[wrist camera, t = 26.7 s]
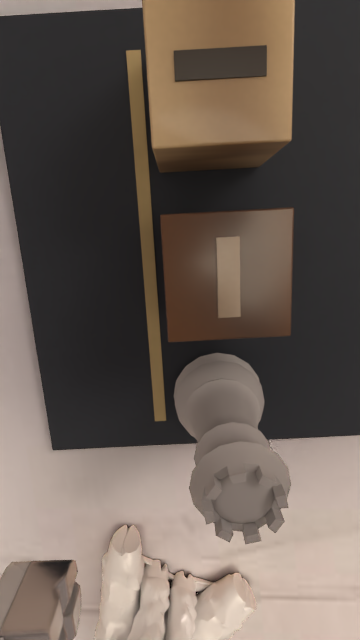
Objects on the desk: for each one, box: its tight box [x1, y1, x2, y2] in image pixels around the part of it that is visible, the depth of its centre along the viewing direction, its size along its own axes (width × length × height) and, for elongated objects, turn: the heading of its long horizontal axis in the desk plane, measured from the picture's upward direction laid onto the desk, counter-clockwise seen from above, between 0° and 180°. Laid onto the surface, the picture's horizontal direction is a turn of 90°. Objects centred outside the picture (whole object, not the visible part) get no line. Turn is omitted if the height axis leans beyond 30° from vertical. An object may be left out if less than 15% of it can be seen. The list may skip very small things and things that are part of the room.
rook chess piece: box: [174, 353, 291, 544], centre depth 14 cm, size 4×4×8 cm
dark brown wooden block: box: [160, 207, 294, 342], centre depth 14 cm, size 4×4×5 cm
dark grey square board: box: [0, 0, 360, 450], centre depth 16 cm, size 20×20×1 cm
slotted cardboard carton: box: [142, 0, 295, 173], centre depth 13 cm, size 4×4×5 cm
